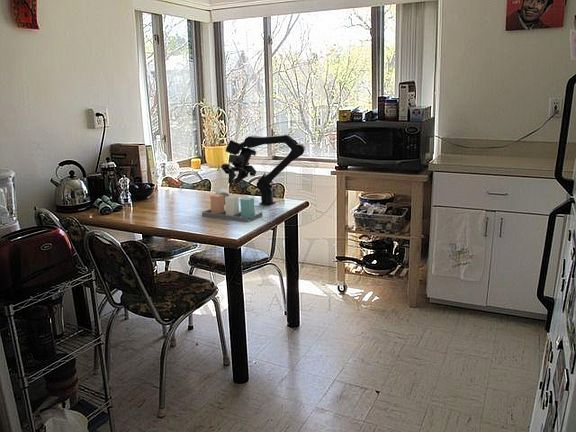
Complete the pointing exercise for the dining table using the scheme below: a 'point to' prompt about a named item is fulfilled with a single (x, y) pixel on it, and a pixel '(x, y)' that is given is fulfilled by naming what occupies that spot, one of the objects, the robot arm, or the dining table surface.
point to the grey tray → (234, 217)
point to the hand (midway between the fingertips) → (232, 183)
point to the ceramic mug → (223, 193)
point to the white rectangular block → (232, 205)
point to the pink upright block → (217, 203)
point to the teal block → (247, 207)
